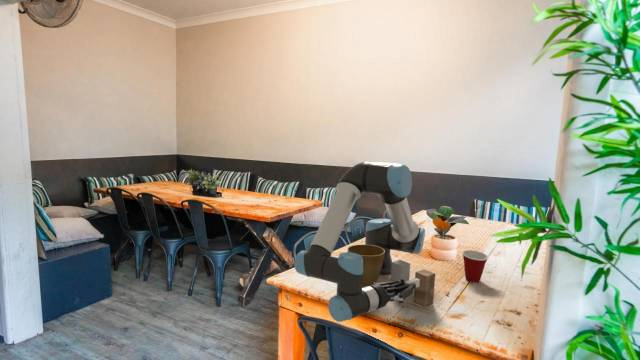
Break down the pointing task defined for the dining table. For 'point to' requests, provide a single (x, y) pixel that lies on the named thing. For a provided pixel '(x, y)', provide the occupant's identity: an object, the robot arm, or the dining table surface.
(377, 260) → the plant pot
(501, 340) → the dining table surface
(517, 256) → the dining table surface
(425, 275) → the walnut block
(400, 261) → the grey block
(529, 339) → the dining table surface
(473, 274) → the plastic cup
